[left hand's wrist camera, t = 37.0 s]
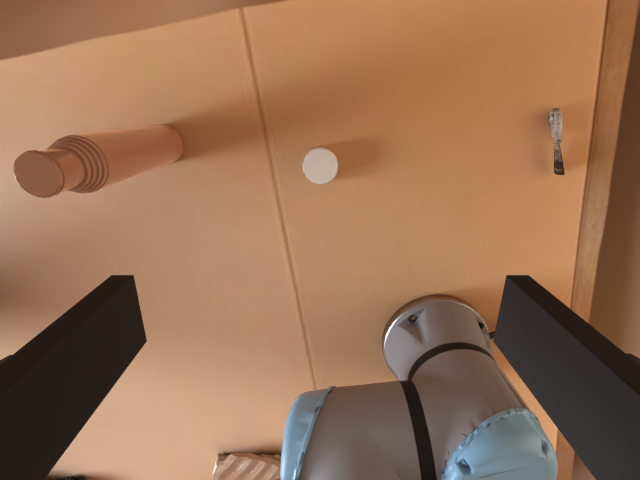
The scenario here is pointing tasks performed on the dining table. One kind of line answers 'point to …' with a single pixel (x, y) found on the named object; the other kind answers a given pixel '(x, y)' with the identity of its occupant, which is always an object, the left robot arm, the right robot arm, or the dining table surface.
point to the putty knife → (556, 138)
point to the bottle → (96, 160)
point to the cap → (320, 165)
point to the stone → (247, 467)
